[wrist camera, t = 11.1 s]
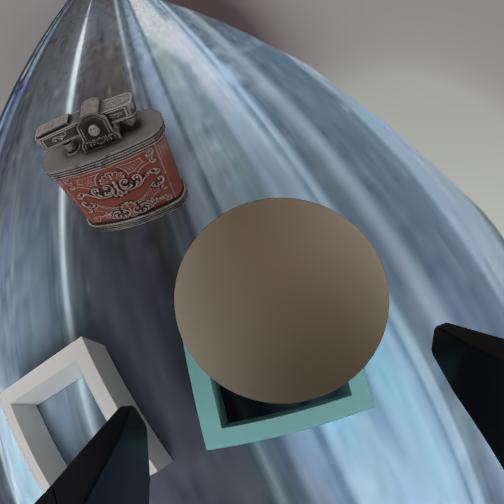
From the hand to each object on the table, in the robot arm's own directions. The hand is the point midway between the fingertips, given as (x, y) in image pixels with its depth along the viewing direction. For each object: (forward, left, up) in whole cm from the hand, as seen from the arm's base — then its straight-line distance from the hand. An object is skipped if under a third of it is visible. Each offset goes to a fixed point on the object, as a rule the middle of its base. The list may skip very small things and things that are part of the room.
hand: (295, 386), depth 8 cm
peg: (+1, +1, -10) cm, 10 cm away
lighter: (+5, +15, -10) cm, 19 cm away
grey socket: (-10, +8, -10) cm, 16 cm away
